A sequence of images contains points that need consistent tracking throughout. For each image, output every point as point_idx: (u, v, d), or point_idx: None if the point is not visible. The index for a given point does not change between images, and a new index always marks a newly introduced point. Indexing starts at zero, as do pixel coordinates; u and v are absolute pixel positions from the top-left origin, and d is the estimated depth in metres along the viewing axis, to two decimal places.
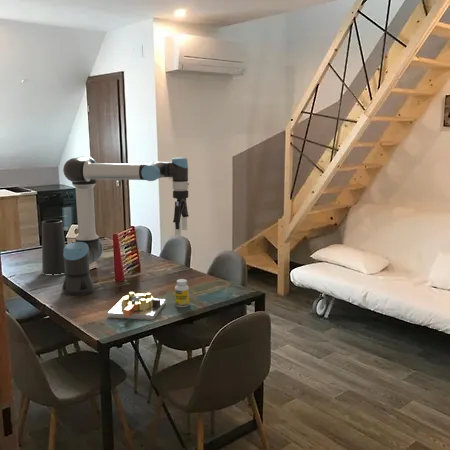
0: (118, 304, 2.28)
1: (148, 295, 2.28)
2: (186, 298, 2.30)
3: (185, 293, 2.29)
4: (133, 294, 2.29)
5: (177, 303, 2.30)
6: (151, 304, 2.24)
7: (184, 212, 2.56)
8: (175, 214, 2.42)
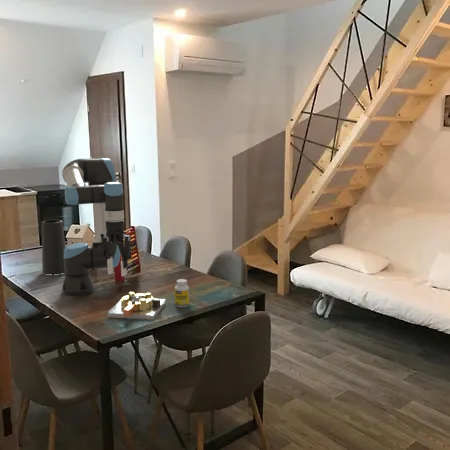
0: (118, 304, 2.28)
1: (148, 295, 2.28)
2: (186, 298, 2.30)
3: (185, 293, 2.29)
4: (133, 294, 2.29)
5: (177, 303, 2.30)
6: (151, 304, 2.24)
7: None
8: None
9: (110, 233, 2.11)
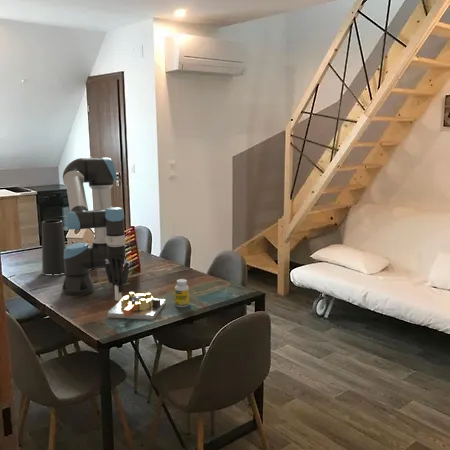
0: (118, 304, 2.28)
1: (148, 295, 2.28)
2: (186, 298, 2.30)
3: (185, 293, 2.29)
4: (133, 294, 2.29)
5: (177, 303, 2.30)
6: (151, 304, 2.24)
7: None
8: None
9: (111, 257, 2.13)
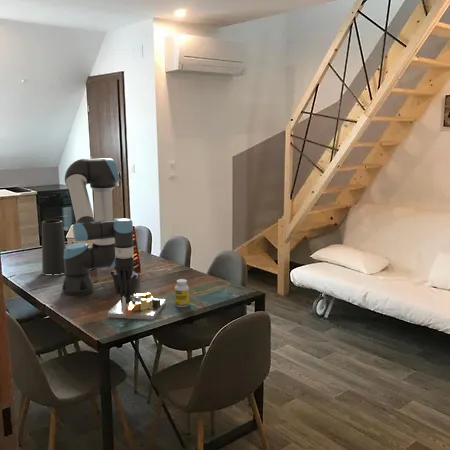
0: (118, 304, 2.28)
1: (148, 295, 2.28)
2: (186, 298, 2.30)
3: (185, 293, 2.29)
4: (133, 294, 2.29)
5: (177, 303, 2.30)
6: (151, 304, 2.24)
7: None
8: None
9: (119, 268, 2.12)
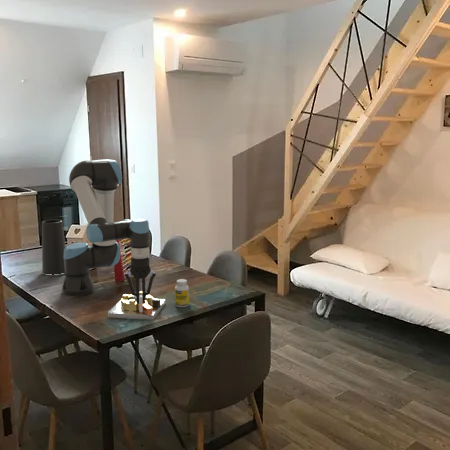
0: (118, 304, 2.28)
1: None
2: (186, 298, 2.30)
3: (185, 293, 2.29)
4: (128, 296, 2.27)
5: (177, 303, 2.30)
6: None
7: (142, 287, 2.14)
8: None
9: (135, 269, 2.11)
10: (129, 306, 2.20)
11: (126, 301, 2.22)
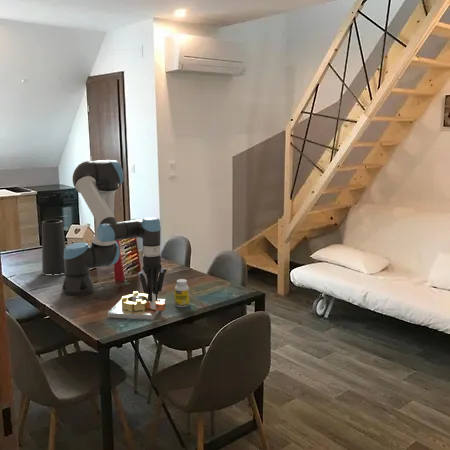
0: (118, 304, 2.28)
1: None
2: (186, 298, 2.30)
3: (185, 293, 2.29)
4: (126, 298, 2.25)
5: (177, 303, 2.30)
6: None
7: (154, 285, 2.17)
8: (142, 286, 2.15)
9: (149, 267, 2.14)
10: (137, 306, 2.19)
11: (131, 302, 2.21)
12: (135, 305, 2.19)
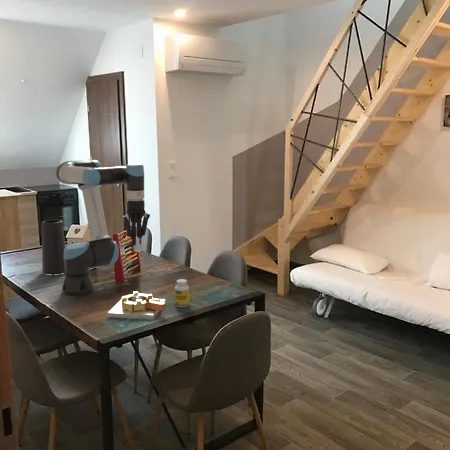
0: (118, 304, 2.28)
1: None
2: (186, 298, 2.30)
3: (185, 293, 2.29)
4: (126, 298, 2.25)
5: (177, 303, 2.30)
6: None
7: (138, 229, 2.27)
8: (126, 229, 2.25)
9: (133, 211, 2.23)
10: (137, 306, 2.19)
11: (131, 302, 2.21)
12: (135, 305, 2.19)
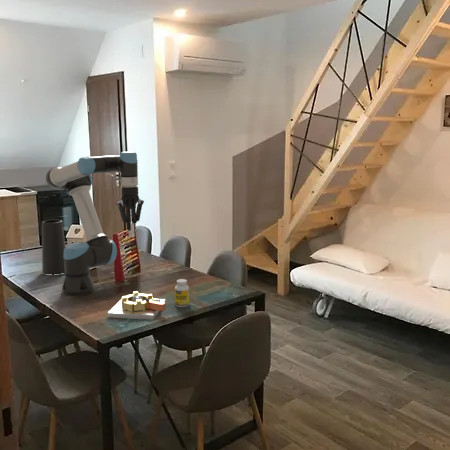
0: (118, 304, 2.28)
1: None
2: (186, 298, 2.30)
3: (185, 293, 2.29)
4: (126, 298, 2.25)
5: (177, 303, 2.30)
6: None
7: (132, 214, 2.35)
8: (121, 215, 2.33)
9: (127, 197, 2.32)
10: (137, 306, 2.19)
11: (131, 302, 2.21)
12: (135, 305, 2.19)
